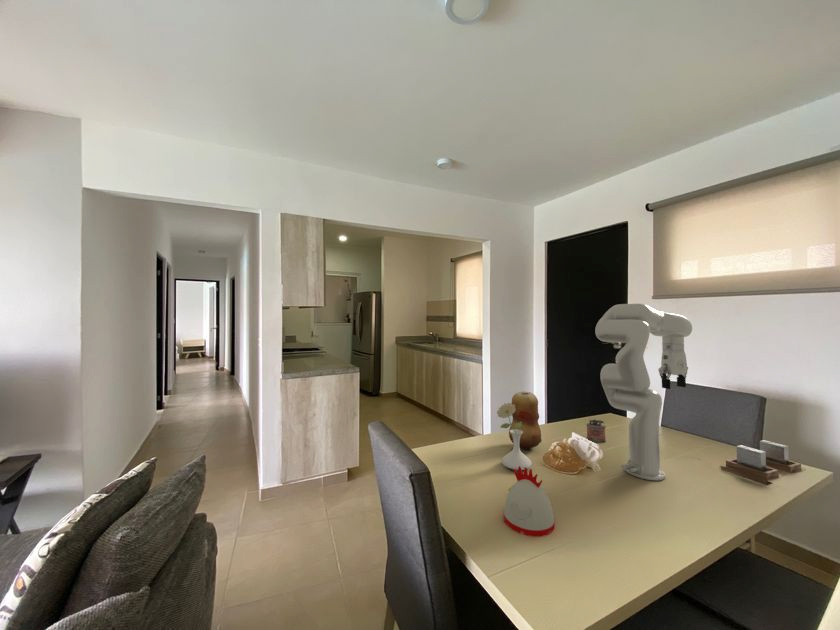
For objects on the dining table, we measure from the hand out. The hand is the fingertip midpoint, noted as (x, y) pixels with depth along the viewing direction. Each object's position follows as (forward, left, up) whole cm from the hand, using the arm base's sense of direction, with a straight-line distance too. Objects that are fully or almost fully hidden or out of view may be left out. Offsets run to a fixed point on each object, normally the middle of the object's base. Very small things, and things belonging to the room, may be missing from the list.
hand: (673, 387), depth 143 cm
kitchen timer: (-90, -17, -29) cm, 96 cm away
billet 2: (+20, -23, -27) cm, 41 cm away
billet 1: (+5, -23, -27) cm, 36 cm away
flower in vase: (-72, +14, -28) cm, 79 cm away
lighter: (-18, +24, -28) cm, 41 cm away
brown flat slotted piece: (+13, -23, -28) cm, 39 cm away
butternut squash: (-56, +28, -28) cm, 69 cm away
